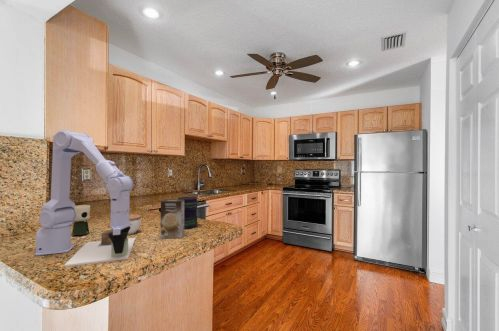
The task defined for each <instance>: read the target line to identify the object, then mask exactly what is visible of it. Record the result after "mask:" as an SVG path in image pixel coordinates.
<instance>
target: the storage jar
mask: <svg viewBox="0 0 499 331" xmlns="http://www.w3.org/2000/svg"><path fill="white" fill-rule="evenodd" d="M177 199H180V200H184V230H193V228H194V229H196V228H198V212H197V210H198V197H196V196H181V197H177Z"/></svg>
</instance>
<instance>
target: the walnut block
mask: <svg viewBox="0 0 499 331" xmlns="http://www.w3.org/2000/svg"><path fill="white" fill-rule="evenodd" d="M110 232H113V231H112V229H110V230H108V229H107V230H103V232H101V240H100V241H101V245H111V243H112V241H111V239H110V238H109V235H108V234H109V233H110Z"/></svg>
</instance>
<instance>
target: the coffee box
mask: <svg viewBox="0 0 499 331" xmlns="http://www.w3.org/2000/svg"><path fill="white" fill-rule="evenodd" d="M159 232H160V233H159V234H160V237H159V238H160V239H181V238H183V236H184V235H185V229H184V200H180V199H178V198H177V199H175V198H174V199H171V198H169V199H168V198H166V199H163V200H161V201H160V230H159Z"/></svg>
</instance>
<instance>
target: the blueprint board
mask: <svg viewBox="0 0 499 331" xmlns="http://www.w3.org/2000/svg"><path fill="white" fill-rule="evenodd" d="M127 238H128V253H127V255H125V256H117V257H111V245H101V240H97V241H88V242H85V243H84V245H83V246H82V247H81V248H79V249H78V250H77V251H76V253H74V254H73V255H72V256H71V258H70V259H68V260H67V261H66V263H65V264H63V268H68V267H74V266H75V267H76V266H83V265H84V266H85V265H91V264H101V263H107V262H108V263H109V262H115V261H124V260H129V257H130V255H131V252H132V249H133V247H134V244H135V241H136V237H127Z"/></svg>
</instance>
